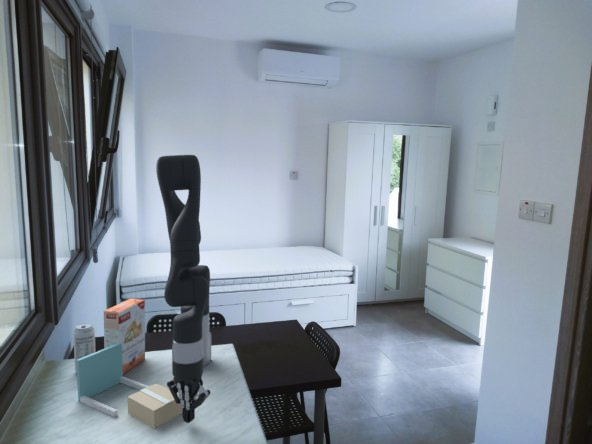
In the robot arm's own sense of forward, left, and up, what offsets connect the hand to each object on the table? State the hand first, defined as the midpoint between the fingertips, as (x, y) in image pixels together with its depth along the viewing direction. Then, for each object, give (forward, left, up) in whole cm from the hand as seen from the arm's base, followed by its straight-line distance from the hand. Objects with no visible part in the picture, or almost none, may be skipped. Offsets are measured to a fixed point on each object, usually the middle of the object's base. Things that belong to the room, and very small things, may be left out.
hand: (188, 420), depth 109 cm
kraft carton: (0, -12, -2) cm, 12 cm away
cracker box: (-14, -40, -2) cm, 43 cm away
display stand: (0, -26, -2) cm, 26 cm away
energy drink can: (-5, -48, -2) cm, 48 cm away
